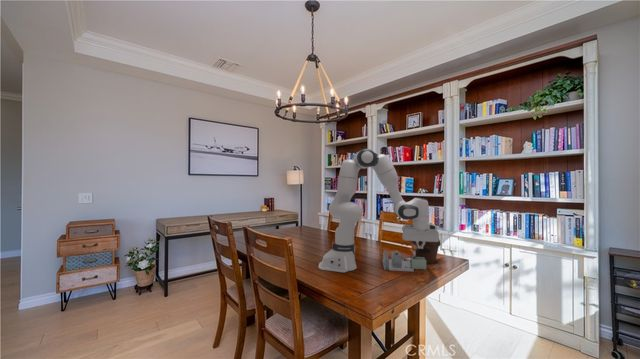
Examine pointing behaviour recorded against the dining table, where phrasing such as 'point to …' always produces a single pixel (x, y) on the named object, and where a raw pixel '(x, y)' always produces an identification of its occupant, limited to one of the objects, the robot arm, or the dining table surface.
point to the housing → (396, 258)
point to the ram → (414, 248)
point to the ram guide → (418, 263)
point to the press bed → (389, 266)
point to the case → (428, 250)
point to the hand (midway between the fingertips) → (420, 248)
